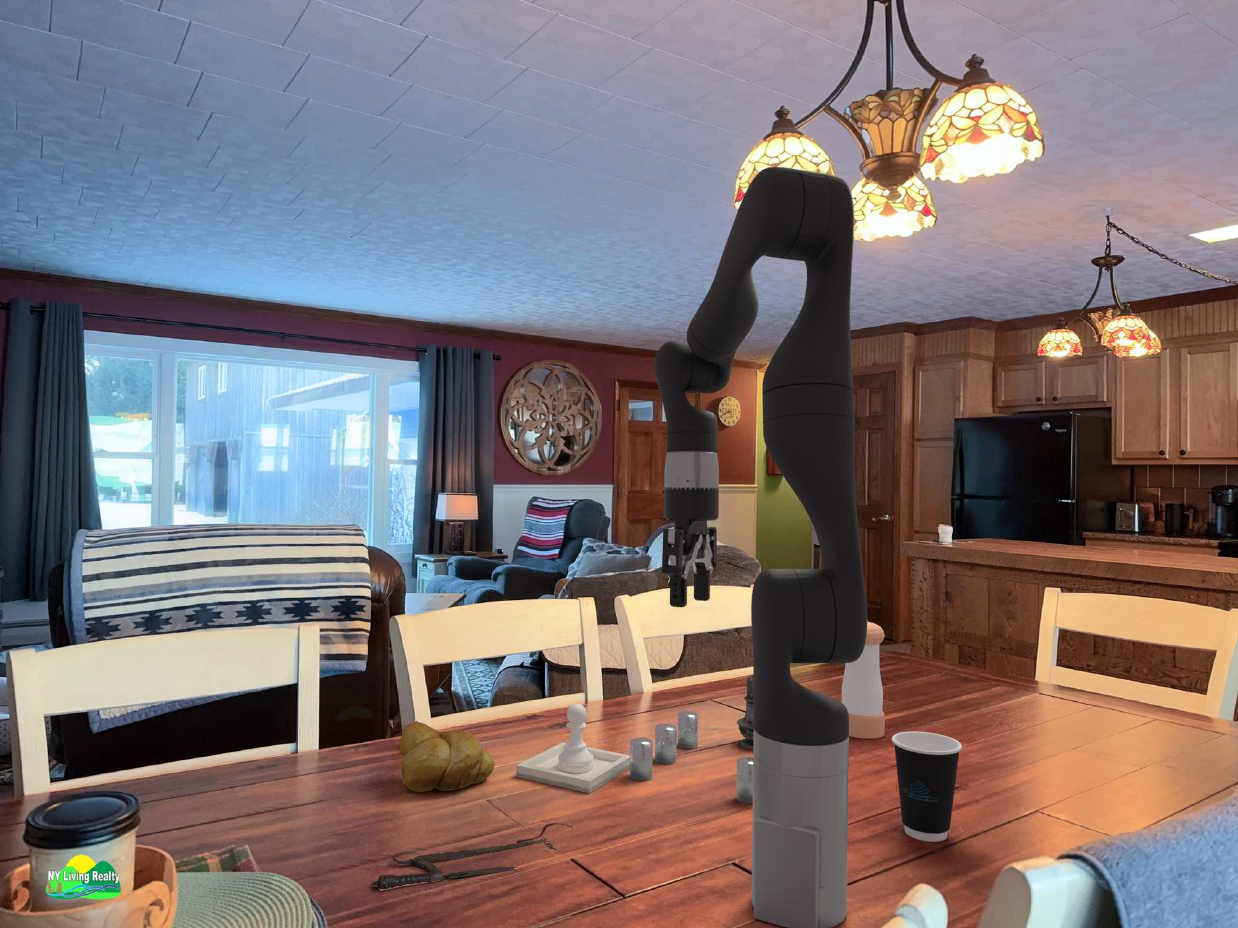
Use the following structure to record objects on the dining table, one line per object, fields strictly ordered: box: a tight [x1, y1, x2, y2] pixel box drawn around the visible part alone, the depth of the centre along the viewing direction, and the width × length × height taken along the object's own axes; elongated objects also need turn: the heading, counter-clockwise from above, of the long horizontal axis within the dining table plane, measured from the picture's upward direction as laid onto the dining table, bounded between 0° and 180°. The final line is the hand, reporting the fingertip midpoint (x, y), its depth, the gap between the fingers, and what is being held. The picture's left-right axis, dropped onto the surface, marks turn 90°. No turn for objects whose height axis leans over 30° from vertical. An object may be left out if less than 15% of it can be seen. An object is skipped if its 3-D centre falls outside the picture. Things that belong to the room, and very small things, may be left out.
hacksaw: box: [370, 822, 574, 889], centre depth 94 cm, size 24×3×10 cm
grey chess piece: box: [736, 674, 754, 751], centre depth 133 cm, size 6×6×12 cm
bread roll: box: [399, 720, 495, 793], centre depth 115 cm, size 13×10×8 cm
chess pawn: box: [558, 703, 593, 773], centre depth 120 cm, size 5×5×9 cm
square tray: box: [515, 742, 630, 794], centre depth 120 cm, size 12×12×2 cm
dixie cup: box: [891, 731, 963, 843], centre depth 101 cm, size 8×8×11 cm
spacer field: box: [629, 710, 753, 805], centre depth 122 cm, size 19×19×5 cm
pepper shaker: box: [841, 619, 886, 740], centre depth 141 cm, size 7×7×19 cm
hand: (690, 603), depth 116 cm, fingers open, 8 cm apart
